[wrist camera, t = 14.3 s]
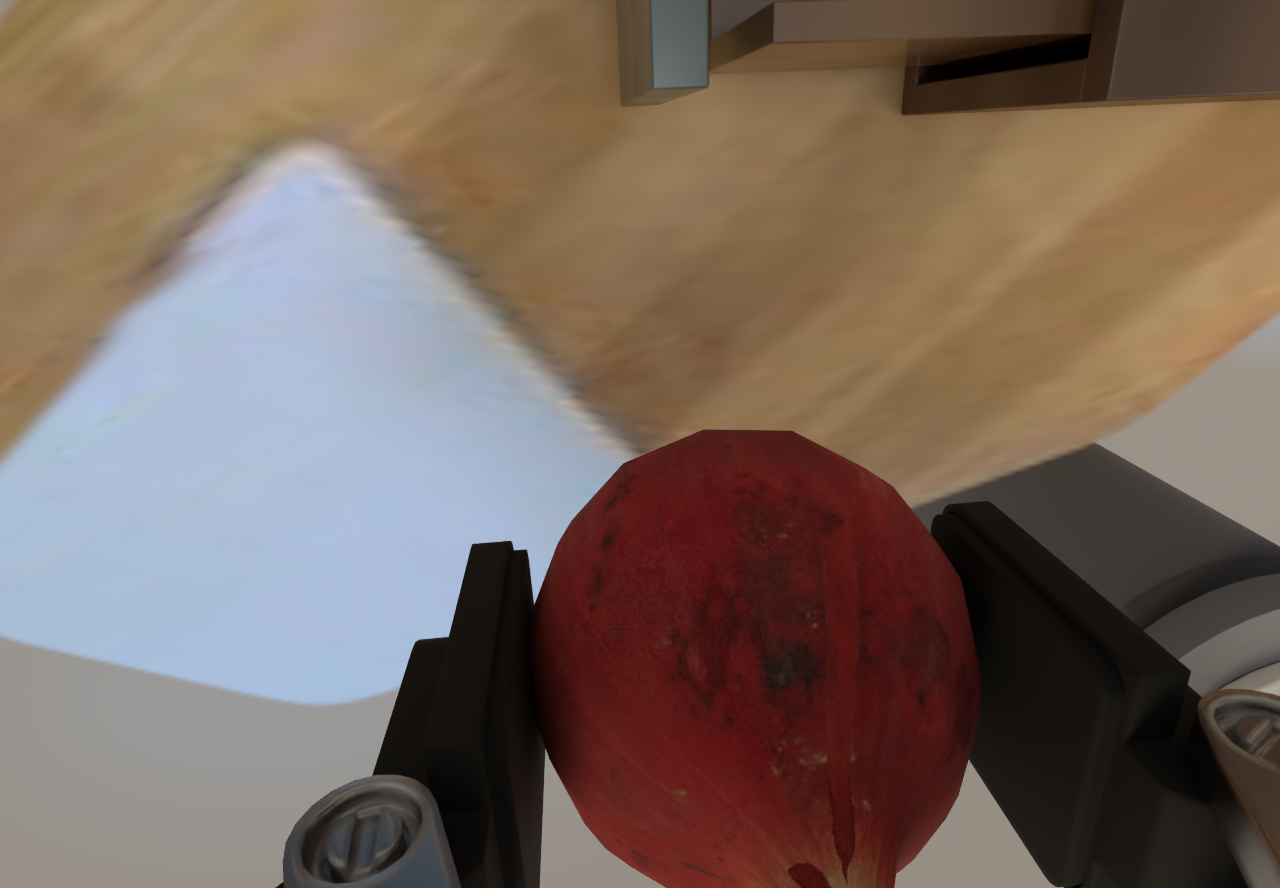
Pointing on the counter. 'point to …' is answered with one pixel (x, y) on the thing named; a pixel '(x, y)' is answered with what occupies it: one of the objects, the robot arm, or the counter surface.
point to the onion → (755, 667)
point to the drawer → (833, 37)
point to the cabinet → (1124, 63)
